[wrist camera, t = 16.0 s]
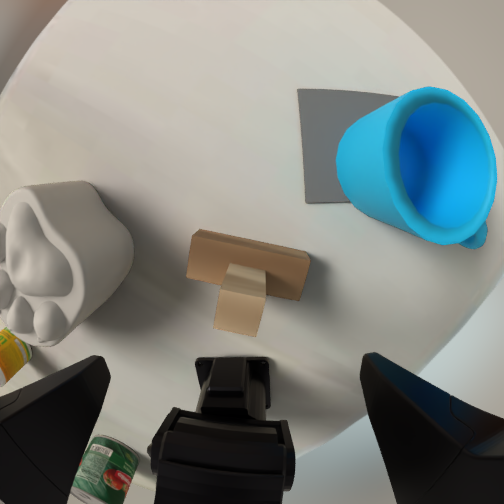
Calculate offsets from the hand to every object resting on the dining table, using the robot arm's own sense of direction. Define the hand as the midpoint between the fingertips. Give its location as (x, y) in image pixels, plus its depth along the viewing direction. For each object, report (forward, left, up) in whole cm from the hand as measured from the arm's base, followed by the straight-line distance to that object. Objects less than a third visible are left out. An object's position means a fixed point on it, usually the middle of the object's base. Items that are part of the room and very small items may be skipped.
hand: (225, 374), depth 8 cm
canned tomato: (-29, +22, -13) cm, 39 cm away
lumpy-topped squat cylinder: (+1, +16, -13) cm, 21 cm away
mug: (+5, -12, -13) cm, 19 cm away
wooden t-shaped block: (-1, 0, -13) cm, 13 cm away
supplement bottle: (-10, +31, -13) cm, 35 cm away
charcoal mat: (+8, -11, -13) cm, 19 cm away
